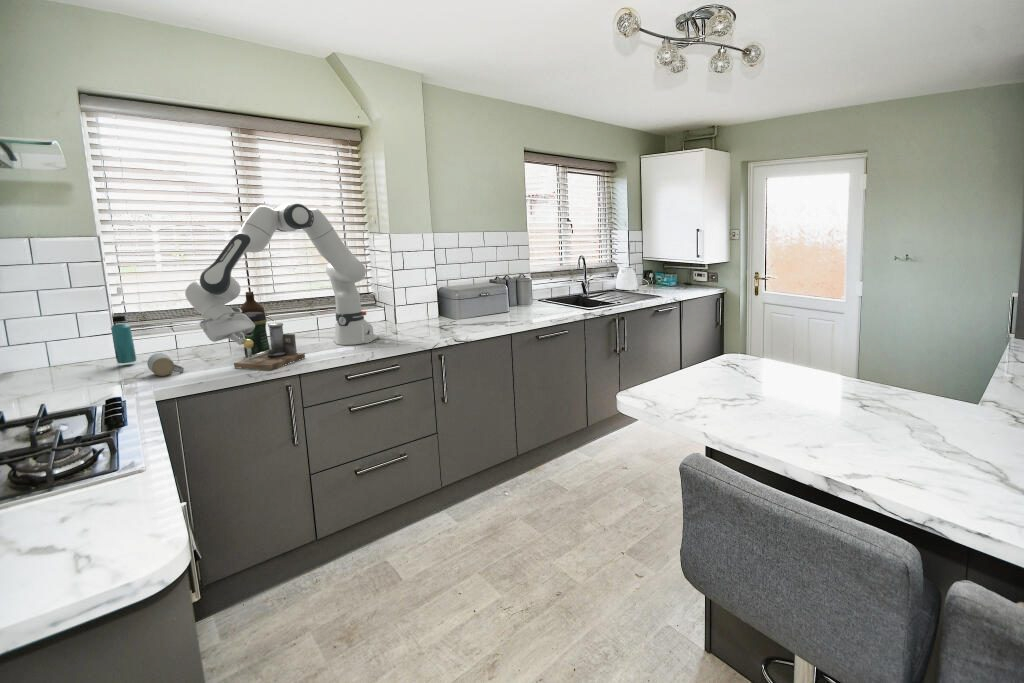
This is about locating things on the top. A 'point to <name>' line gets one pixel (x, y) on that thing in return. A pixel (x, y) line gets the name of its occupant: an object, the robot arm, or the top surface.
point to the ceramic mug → (162, 365)
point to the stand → (274, 362)
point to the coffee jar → (257, 333)
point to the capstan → (276, 343)
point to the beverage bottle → (123, 341)
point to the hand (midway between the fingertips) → (243, 343)
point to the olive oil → (251, 304)
